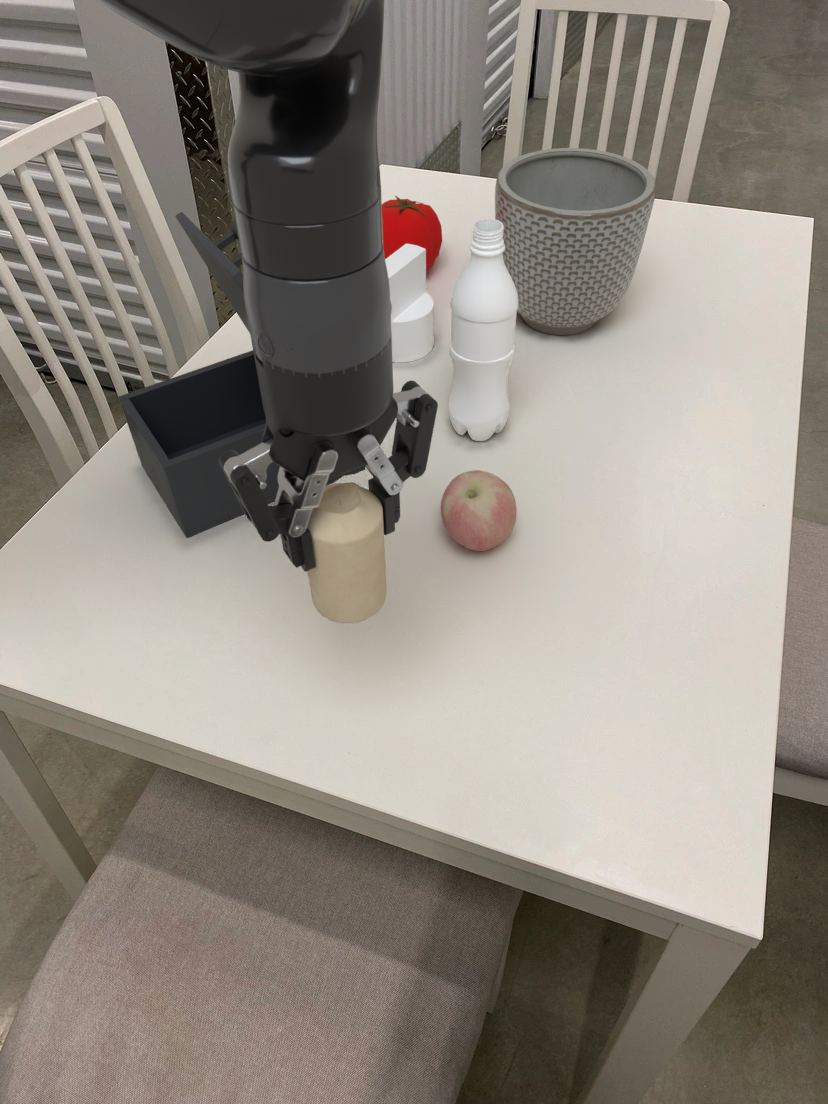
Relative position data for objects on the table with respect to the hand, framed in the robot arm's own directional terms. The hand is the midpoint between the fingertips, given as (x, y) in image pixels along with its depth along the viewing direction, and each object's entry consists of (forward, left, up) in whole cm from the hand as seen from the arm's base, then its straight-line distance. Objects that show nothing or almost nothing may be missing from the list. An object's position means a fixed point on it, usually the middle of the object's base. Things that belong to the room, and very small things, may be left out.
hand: (343, 543), depth 56 cm
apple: (+23, +5, -22) cm, 32 cm away
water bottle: (+38, +16, -22) cm, 47 cm away
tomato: (+61, +47, -22) cm, 80 cm away
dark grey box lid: (+19, +31, -3) cm, 37 cm away
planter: (+65, +22, -22) cm, 72 cm away
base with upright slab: (+46, +35, -22) cm, 62 cm away
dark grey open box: (+14, +33, -21) cm, 42 cm away
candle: (0, 0, -6) cm, 6 cm away
